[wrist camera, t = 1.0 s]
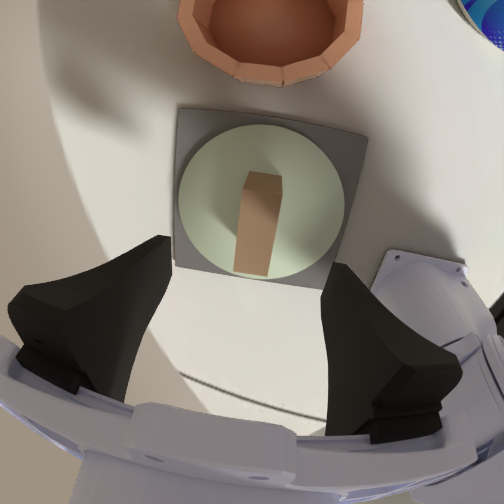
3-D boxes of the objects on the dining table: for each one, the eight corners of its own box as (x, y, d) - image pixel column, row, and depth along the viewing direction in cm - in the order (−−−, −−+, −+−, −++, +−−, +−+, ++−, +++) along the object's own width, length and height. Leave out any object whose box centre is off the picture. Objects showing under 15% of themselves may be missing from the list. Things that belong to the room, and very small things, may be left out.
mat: (366, 137, 15) (368, 138, 15) (323, 286, 22) (324, 290, 21) (181, 108, 16) (178, 108, 15) (177, 262, 22) (175, 266, 21)
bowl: (350, -17, 10) (366, -40, 6) (334, 98, 14) (350, 97, 11) (211, -33, 10) (194, -58, 6) (191, 79, 14) (168, 75, 11)
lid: (359, 143, 15) (382, 156, 12) (320, 283, 21) (326, 322, 17) (185, 116, 15) (158, 122, 12) (181, 262, 21) (163, 296, 18)
